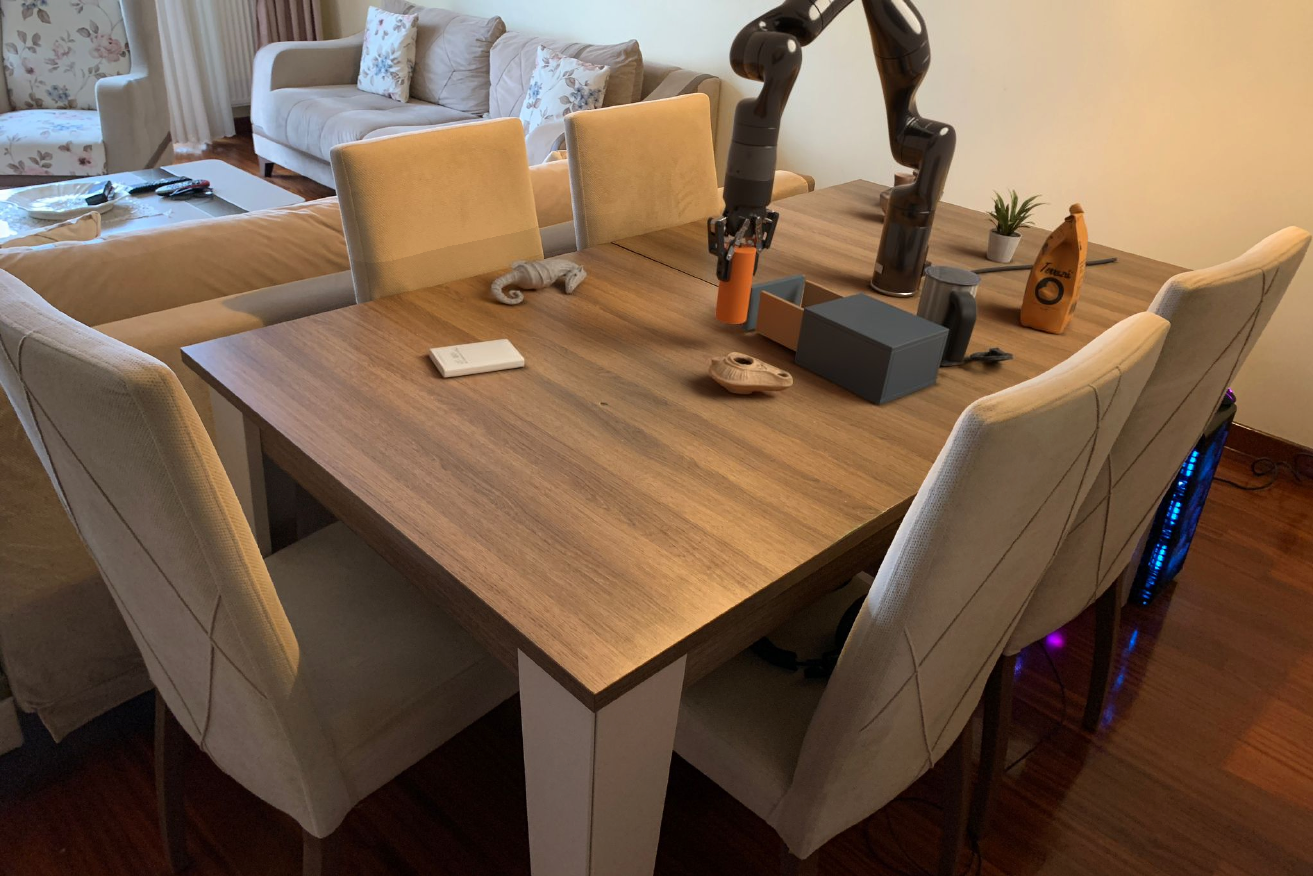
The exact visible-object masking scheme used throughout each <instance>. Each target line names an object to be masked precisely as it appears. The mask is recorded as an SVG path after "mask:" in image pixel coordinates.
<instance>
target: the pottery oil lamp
mask: <svg viewBox="0 0 1313 876" xmlns="http://www.w3.org/2000/svg"><path fill="white" fill-rule="evenodd" d="M710 361H711V364H710V365H709V367H708V373H709V375H710V378H712V379H713V380H714V381H715V382H717V383H718V384H719V385H720V386H721V387H724V388H725V389H726V391H728V392H730V393H733V394H737V395H750V394H753V392H783V391H786V390H787V389H789V388H790V387H792V386H793V384H794V380H793V376H792V375H791V374H790V373H789V372H788V371H785V370H783V369H781V368H778V367H776V366H773V365H772V364H769V363H766V362H764V361H762V360H760V359H758V358H755V357H752V356H750V355H748V354H744V353H741V352H736V351H731V352H730V353H727V354H724V355H718V356H713V357H711V360H710Z"/></svg>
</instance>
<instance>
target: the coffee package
mask: <svg viewBox="0 0 1313 876" xmlns="http://www.w3.org/2000/svg"><path fill="white" fill-rule="evenodd" d="M1068 212H1069V215H1068V216H1065V217H1064V219H1063V220H1064V221H1063V222H1062V223H1061V224H1059V226H1058V227H1056V228H1055V229H1054V230H1053V231H1052V232H1051V233H1050V234H1049V235H1048V236H1046V239H1045V241H1044V242H1043V244H1042V245H1041V248H1040V250H1039V251H1038V254H1037V256H1036V259H1035V260H1034V263H1033V264H1032V265H1033V267H1032V268H1030V271H1029V274H1028V278H1027V281H1026V285H1025V289H1024V294H1023V298H1022V304H1021V309H1020V316H1019V318H1020V323H1021V325H1022V326H1024V327H1030V328H1032V329H1034V330H1038V331H1044V332H1047V333H1050V334H1051V333H1052V334H1056V335H1060V334H1062V333H1063V332H1064V330H1065V329H1066V328H1067V326H1069V324H1070V323H1071V322H1072V320H1073V317H1074V314H1075V312H1076V308H1077V304H1078V301H1079V298H1080V294H1081V290H1082V285H1083V282H1084V275H1085V270H1086V266H1087V265H1086V262H1087V252H1088V243H1089V232H1088V227H1087V225H1086V222H1085V218H1084V214H1085V212H1084V209H1083V207H1082V206H1081V204H1080V203H1073V204H1071V205H1070V207H1069V208H1068Z"/></svg>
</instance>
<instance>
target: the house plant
mask: <svg viewBox="0 0 1313 876" xmlns="http://www.w3.org/2000/svg"><path fill="white" fill-rule="evenodd" d="M1006 189H1007V191H1008V193H1009V195H1010V200H1011V205H1010V204H1009V203H1007V204H1006V205H1005V203H1004V202H1005V201H1004V200H1003V198H1002V196H1001V195H1000V194H999V193H998V192H997V191H996V190H994V189H992V190H993V192H994V194H995V196H996V197H997V198H996V199H994V198H992V197H991V200H992V201H993V202H994V212H993V211H985V213H987V214H989V215H990V216H991V217H992V218H993V219H995V220H996V221H997V224H996V223H995V221H994V220H993V219H992V218H985V219H984V221H989V222H992V223H993V225H995V227H994V228H993V227H992V228H990V229H989V234H988V244H987V253H986V259H988V260H990V261H993V262H996V263H1002V264H1003V263H1004V264H1006V263H1010V262H1011V260H1012V258H1013V256H1014V254H1015V252H1016V249H1017V247H1018V245H1019V243H1020V241H1021V239H1022V237H1023V235H1022V233H1021V232H1018V231H1017V230H1018V229H1020V228H1025V229H1029V230H1031V231H1033V229H1032V228H1031V227H1030V226H1028V225H1025V224H1031V225H1033V226H1036V223H1035V222H1033V221H1025V220H1027V219H1028V218H1030V217H1032V216H1033V215H1035V213H1029V212H1030V211H1032V209H1034V208H1036V207H1038V206H1041V205H1050V203H1049V202H1037V203H1034V202H1033V201H1034V200H1035V199H1037V198H1038V197H1041V196H1043V194H1036V195H1033V196H1031V197H1029V198H1027V199H1026V200H1025V201H1023V202H1022V204H1021V205H1020V208H1019V209H1018V210H1017V207H1018V202H1019V197H1018V194H1017V192H1016V191H1015V189H1012V192H1011V191H1010V189H1009V188H1008V187H1006ZM1032 204H1033V205H1032ZM1010 206H1011V208H1010ZM1028 213H1029V214H1028ZM1024 221H1025V222H1024ZM1023 222H1024V223H1023Z"/></svg>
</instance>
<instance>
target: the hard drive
mask: <svg viewBox="0 0 1313 876" xmlns="http://www.w3.org/2000/svg"><path fill="white" fill-rule="evenodd" d="M428 356H429V359H430V360H431V361H432V363H433V364H434V365H435V367H436V369H437V370H438V372H439V373H440V374H441V376H442V377H443V378H444V379H445V378H453V377H460V376H467V375H476V374H482V373H488V372H489V373H490V372H495V371H502V370H509V369H517V368H524V367H525V357H524V356H523V355H522V354H521V353H520V352H519V351H518V349H516V347H515V346H514V345H513V344H512V342H511V341H510V340H509V339H508V338H501V339H494V340H488V341H487V340H486V341H479V342H472V343H464V344H457V345H448V346H441V347H433V348H428Z"/></svg>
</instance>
